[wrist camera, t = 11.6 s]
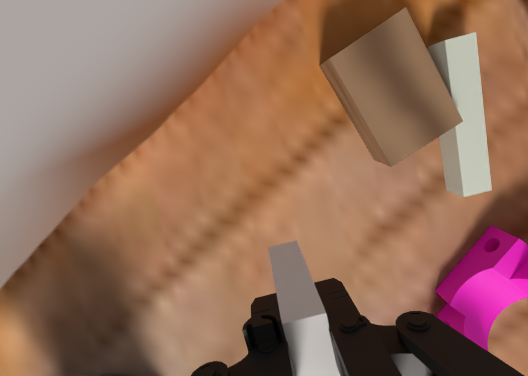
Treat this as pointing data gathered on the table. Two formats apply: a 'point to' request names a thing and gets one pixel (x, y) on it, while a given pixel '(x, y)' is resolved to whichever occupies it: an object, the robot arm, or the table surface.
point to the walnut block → (392, 90)
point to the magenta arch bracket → (485, 284)
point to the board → (463, 116)
